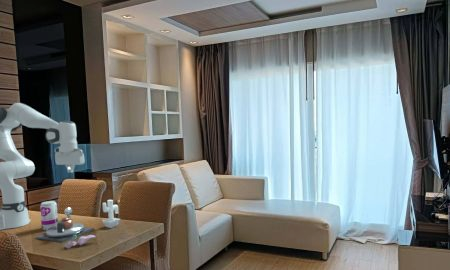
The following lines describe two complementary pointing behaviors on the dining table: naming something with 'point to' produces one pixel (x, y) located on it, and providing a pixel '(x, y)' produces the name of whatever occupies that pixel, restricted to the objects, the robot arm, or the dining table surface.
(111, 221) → the figurine
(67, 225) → the cover
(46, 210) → the supplement can
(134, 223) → the dining table surface
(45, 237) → the plinth
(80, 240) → the rabbit figure
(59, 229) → the turntable
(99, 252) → the dining table surface
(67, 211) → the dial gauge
